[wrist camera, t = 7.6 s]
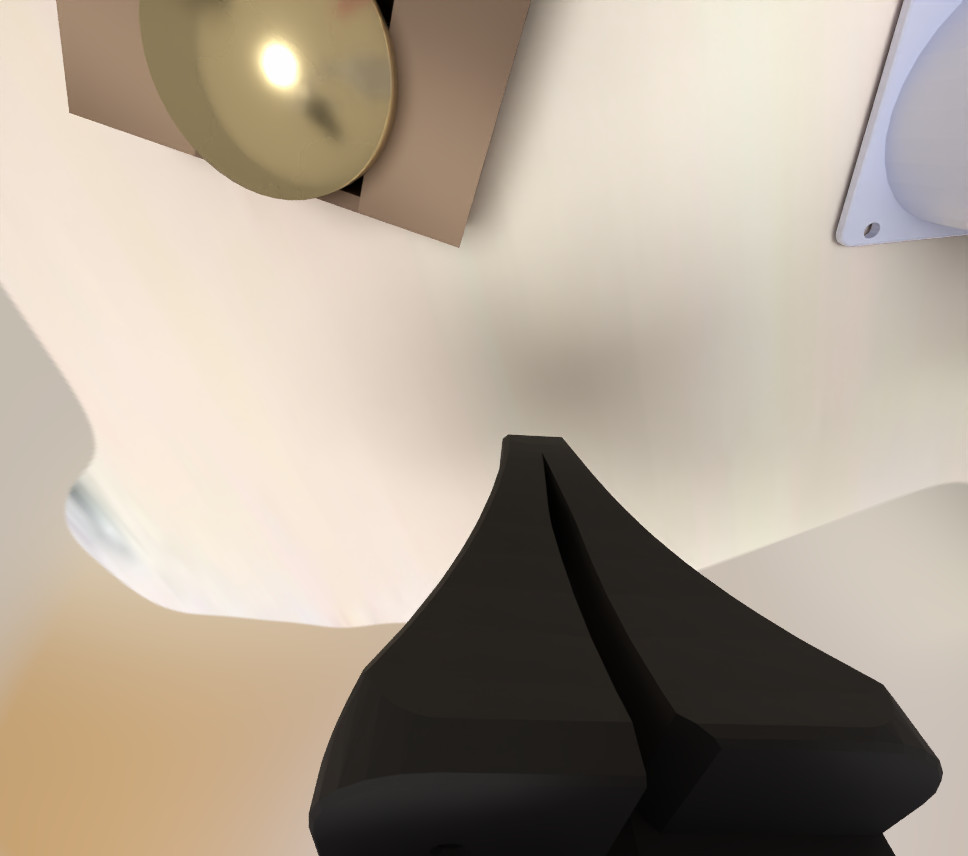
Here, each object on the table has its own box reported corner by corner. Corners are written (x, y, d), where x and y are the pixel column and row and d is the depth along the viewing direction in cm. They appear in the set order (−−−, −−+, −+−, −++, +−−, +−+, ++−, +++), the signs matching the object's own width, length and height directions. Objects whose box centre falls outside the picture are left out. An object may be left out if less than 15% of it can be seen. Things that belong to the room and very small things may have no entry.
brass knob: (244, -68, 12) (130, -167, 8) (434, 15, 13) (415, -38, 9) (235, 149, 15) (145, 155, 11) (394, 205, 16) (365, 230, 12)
